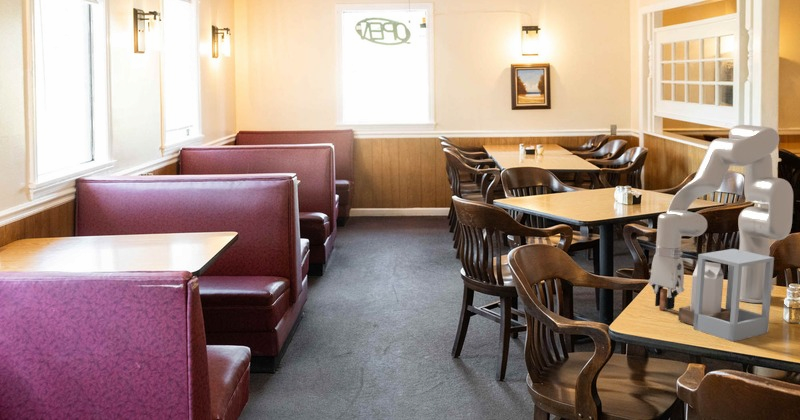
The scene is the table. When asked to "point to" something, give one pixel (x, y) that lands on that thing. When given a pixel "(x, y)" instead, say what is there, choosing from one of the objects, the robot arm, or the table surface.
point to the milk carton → (709, 289)
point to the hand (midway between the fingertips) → (664, 306)
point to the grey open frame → (734, 297)
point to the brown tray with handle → (687, 314)
